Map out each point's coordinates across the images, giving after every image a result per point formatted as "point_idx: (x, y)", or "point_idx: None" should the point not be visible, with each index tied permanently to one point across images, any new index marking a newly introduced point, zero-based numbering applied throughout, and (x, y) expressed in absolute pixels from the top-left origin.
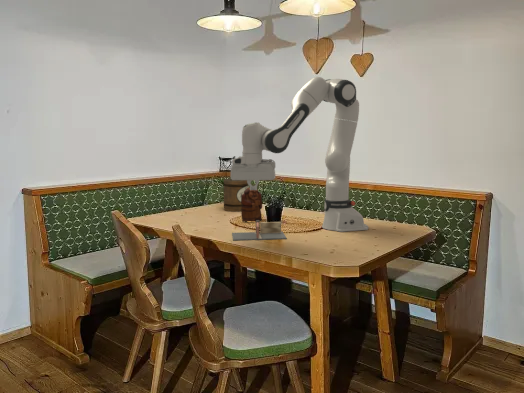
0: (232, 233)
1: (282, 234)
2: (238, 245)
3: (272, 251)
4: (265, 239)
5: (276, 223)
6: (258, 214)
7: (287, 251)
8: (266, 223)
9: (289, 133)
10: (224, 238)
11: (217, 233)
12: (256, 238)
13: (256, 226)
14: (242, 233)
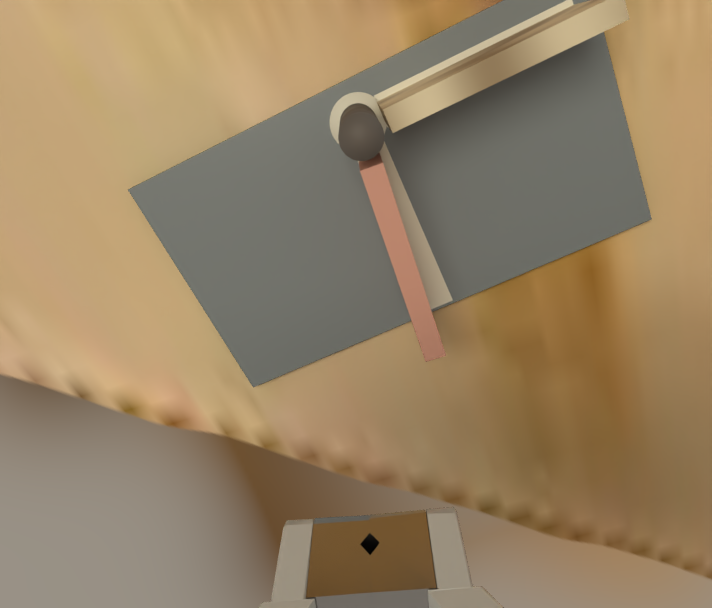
0: (146, 212)
1: (600, 100)
2: (343, 471)
3: (585, 520)
4: (479, 287)
5: (567, 45)
6: None
7: (674, 497)
8: (456, 100)
9: None
10: (160, 344)
11: (3, 211)
12: None
13: (421, 348)
14: (230, 184)
